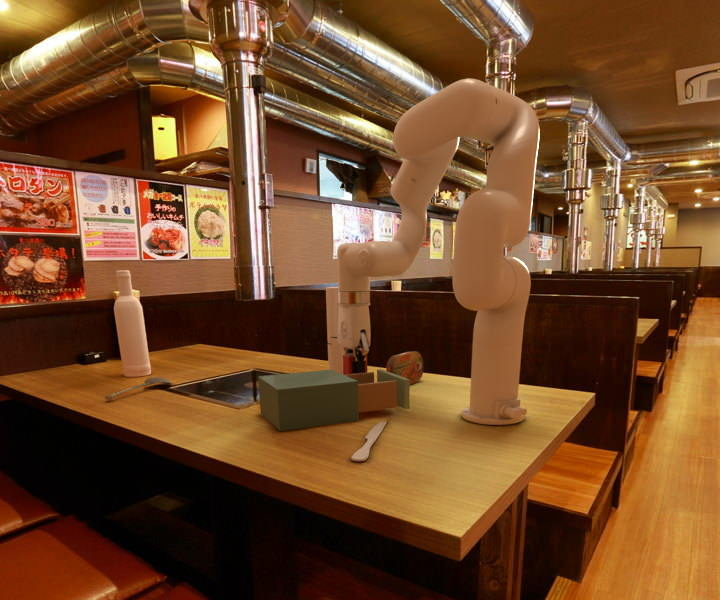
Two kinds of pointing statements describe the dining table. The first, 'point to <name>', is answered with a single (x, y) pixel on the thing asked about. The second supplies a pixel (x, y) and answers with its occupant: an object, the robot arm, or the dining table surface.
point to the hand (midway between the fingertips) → (355, 375)
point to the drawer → (381, 391)
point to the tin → (407, 366)
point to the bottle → (131, 329)
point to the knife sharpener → (350, 363)
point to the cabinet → (308, 399)
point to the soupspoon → (147, 382)
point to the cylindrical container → (333, 331)
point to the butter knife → (368, 442)
